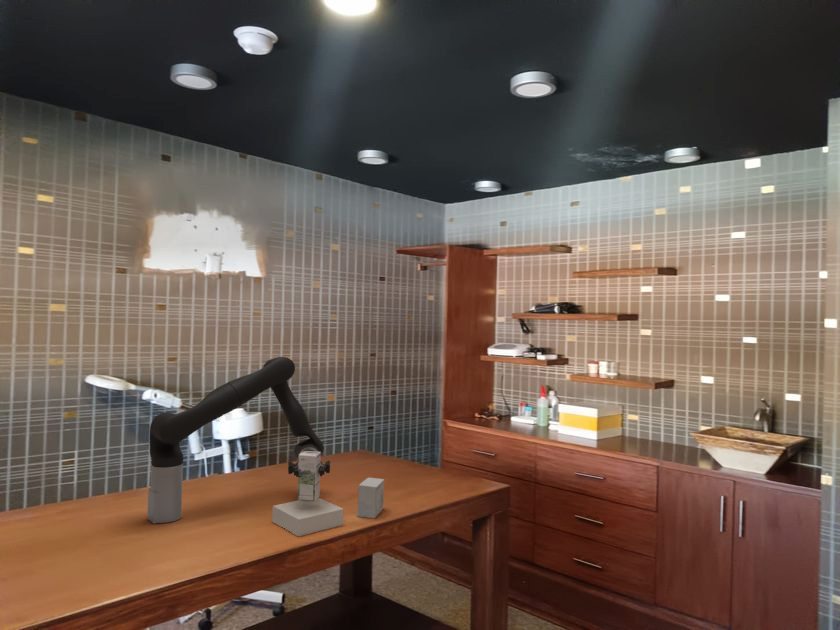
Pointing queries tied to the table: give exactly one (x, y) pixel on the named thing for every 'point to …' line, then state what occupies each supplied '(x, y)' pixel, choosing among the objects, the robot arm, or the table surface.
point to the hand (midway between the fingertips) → (309, 473)
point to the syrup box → (309, 475)
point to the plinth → (307, 516)
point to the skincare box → (370, 497)
